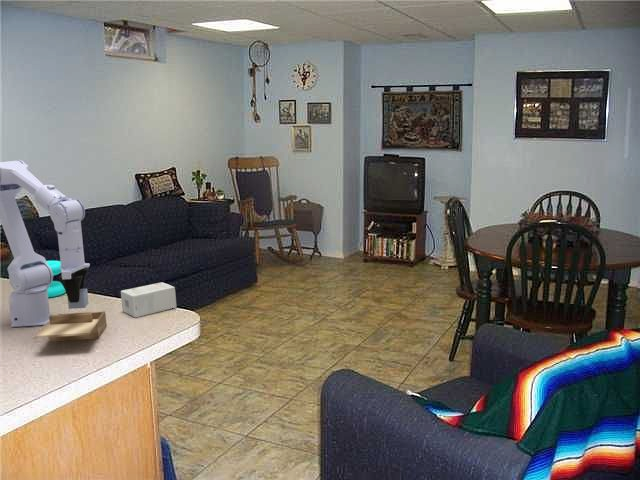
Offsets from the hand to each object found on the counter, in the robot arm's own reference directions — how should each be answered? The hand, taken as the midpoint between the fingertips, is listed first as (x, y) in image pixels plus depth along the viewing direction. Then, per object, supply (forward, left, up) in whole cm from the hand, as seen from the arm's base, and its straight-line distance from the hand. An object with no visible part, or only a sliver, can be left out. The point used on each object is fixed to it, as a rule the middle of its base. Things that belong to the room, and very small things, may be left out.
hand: (76, 299), depth 172 cm
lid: (0, -10, -5) cm, 11 cm away
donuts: (-18, +39, -9) cm, 44 cm away
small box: (+10, +13, -6) cm, 17 cm away
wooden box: (0, -1, -9) cm, 9 cm away
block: (0, 0, -2) cm, 2 cm away
